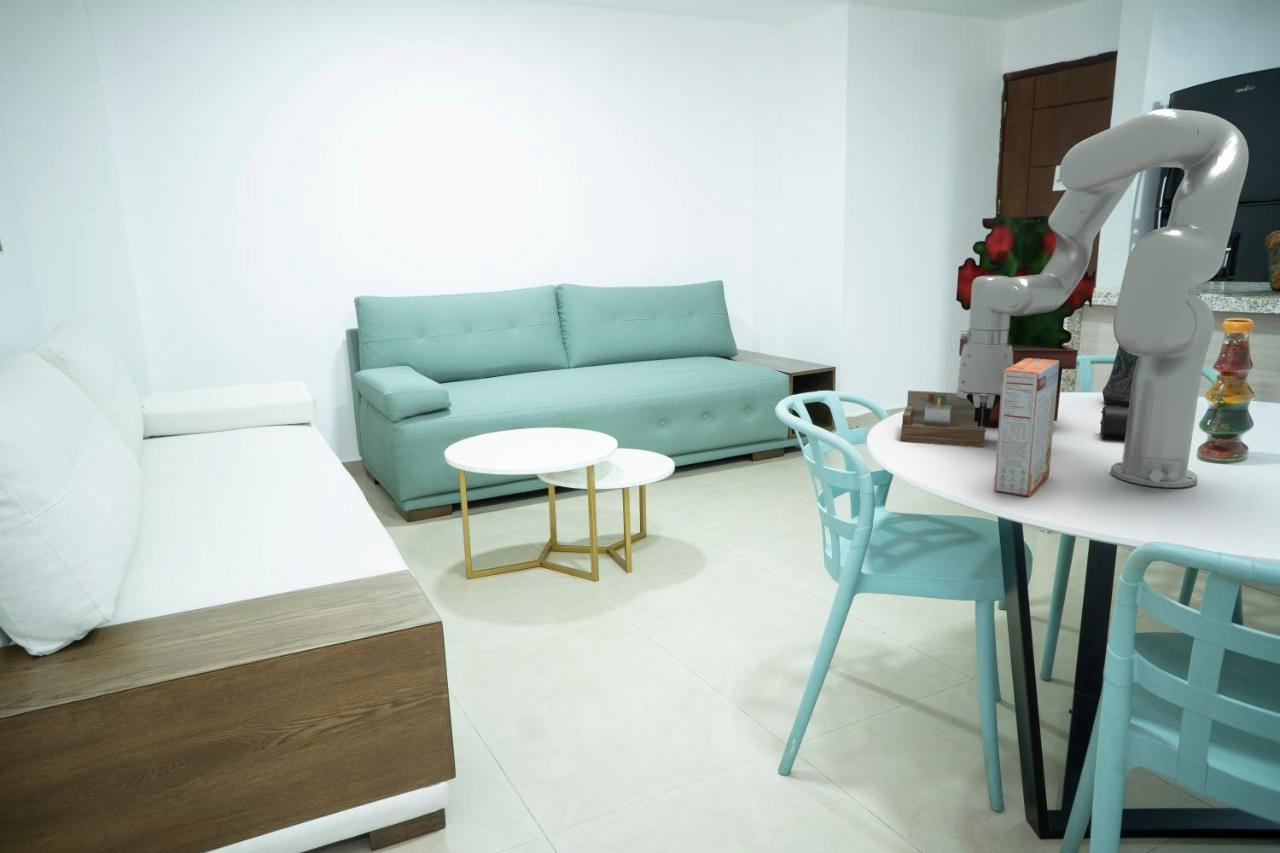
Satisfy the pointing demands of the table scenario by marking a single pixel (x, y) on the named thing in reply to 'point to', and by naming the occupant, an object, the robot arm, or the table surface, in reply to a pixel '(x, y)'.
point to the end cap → (1114, 422)
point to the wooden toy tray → (957, 434)
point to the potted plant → (1024, 253)
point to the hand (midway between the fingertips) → (981, 425)
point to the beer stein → (1120, 380)
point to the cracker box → (1026, 425)
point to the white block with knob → (937, 415)
